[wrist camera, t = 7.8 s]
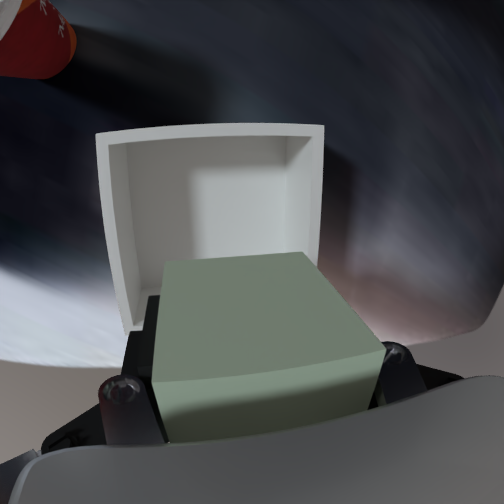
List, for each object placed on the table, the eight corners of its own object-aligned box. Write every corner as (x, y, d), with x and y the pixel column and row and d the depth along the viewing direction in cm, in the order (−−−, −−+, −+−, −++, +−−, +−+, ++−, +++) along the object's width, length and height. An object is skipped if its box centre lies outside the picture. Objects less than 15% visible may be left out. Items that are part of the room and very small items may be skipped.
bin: (118, 132, 24) (95, 133, 17) (292, 125, 26) (324, 125, 20) (136, 292, 29) (125, 335, 23) (287, 280, 32) (312, 318, 25)
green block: (165, 261, 11) (151, 382, 6) (302, 251, 12) (386, 348, 7) (180, 369, 13) (187, 491, 8) (294, 356, 14) (345, 464, 8)
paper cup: (103, 20, 20) (43, -53, 7) (65, 99, 22) (-30, 86, 9) (36, 6, 17) (-43, -47, 4) (1, 81, 19) (-100, 70, 6)
